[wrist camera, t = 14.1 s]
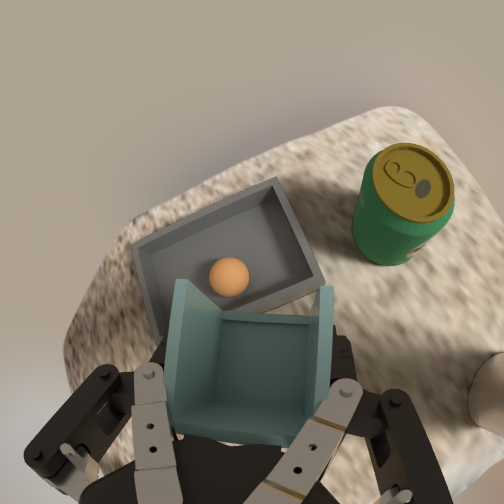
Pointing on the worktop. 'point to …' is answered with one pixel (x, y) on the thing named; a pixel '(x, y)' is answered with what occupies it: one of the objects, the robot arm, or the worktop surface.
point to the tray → (229, 255)
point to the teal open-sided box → (246, 368)
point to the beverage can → (401, 203)
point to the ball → (229, 277)
